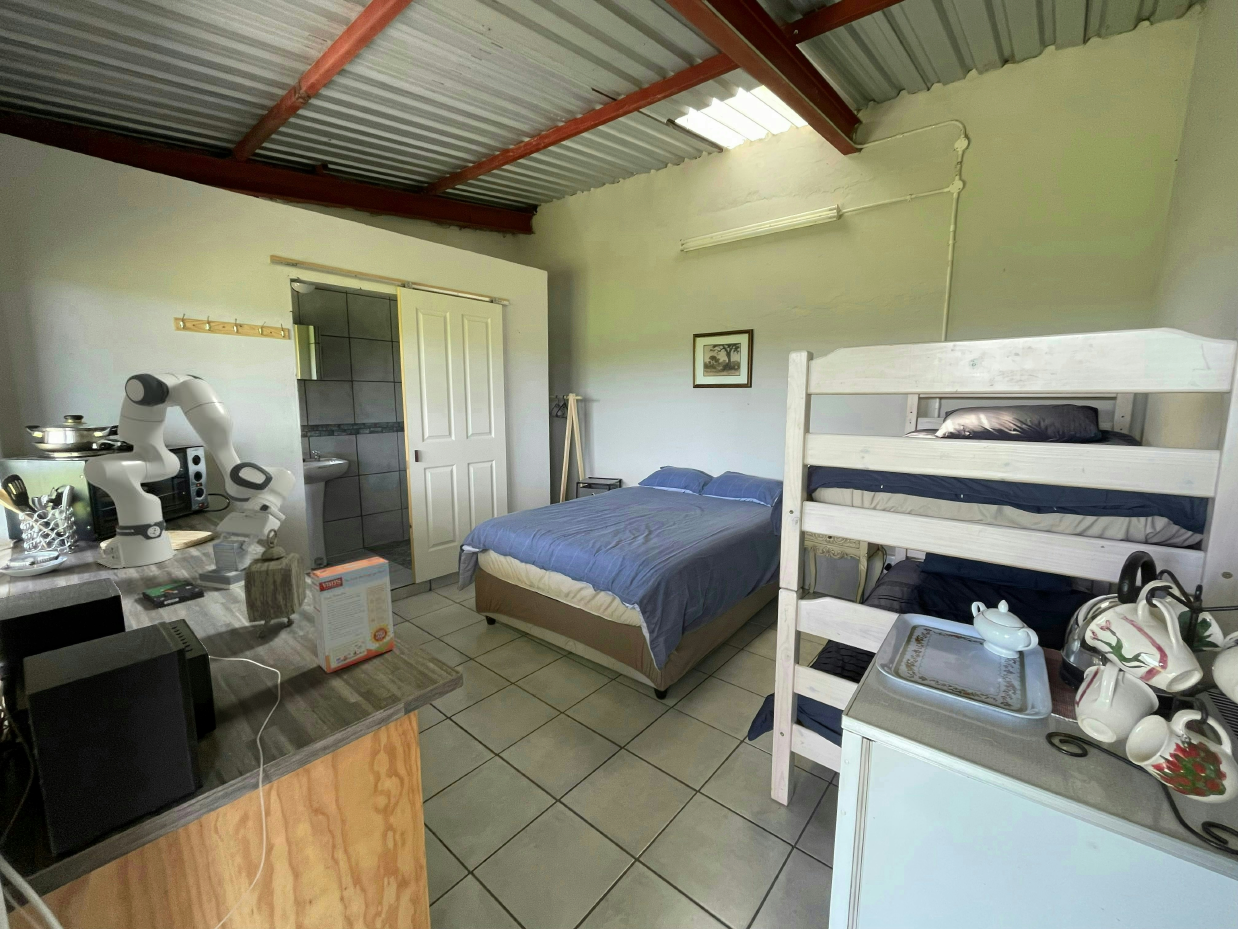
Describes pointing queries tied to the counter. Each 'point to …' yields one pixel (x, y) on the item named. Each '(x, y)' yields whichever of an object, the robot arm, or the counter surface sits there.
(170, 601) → the disk drive
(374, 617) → the cracker box
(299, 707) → the counter surface
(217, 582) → the dock
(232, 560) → the medicine box
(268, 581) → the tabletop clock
